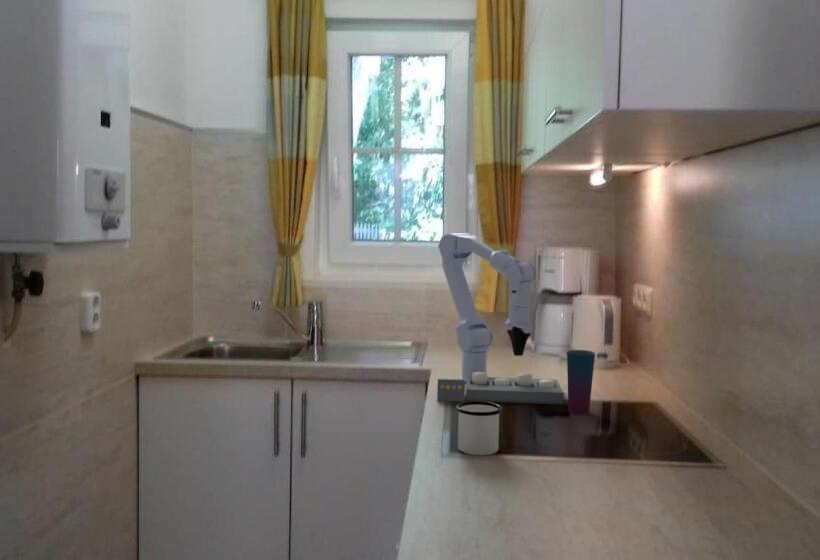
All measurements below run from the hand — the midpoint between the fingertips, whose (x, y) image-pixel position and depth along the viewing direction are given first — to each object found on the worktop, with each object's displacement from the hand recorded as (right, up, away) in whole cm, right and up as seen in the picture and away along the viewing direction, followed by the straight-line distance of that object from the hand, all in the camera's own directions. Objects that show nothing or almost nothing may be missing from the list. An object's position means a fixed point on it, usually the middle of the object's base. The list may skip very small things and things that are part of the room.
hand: (518, 355), depth 208 cm
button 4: (+7, -10, -5) cm, 13 cm away
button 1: (-11, -8, -4) cm, 14 cm away
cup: (+12, -12, -21) cm, 27 cm away
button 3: (+1, -8, -5) cm, 10 cm away
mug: (-16, -14, -52) cm, 56 cm away
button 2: (-5, -10, -4) cm, 12 cm away
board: (-2, -10, -5) cm, 12 cm away
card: (-19, -11, -12) cm, 25 cm away
